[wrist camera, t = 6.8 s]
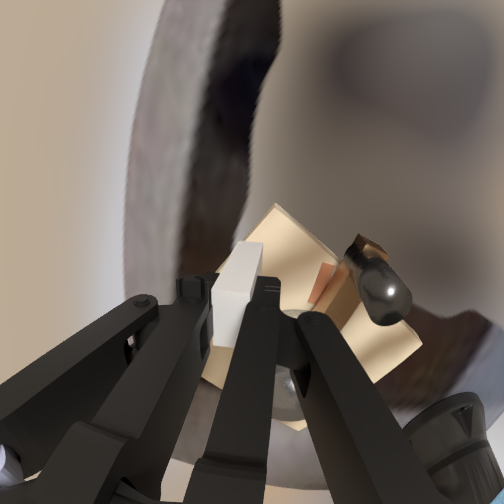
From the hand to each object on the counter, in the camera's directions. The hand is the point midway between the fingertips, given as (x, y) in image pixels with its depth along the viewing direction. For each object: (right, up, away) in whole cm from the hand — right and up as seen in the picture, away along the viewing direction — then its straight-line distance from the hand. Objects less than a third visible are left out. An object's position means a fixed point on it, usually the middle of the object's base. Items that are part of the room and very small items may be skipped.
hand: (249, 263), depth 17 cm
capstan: (+5, -6, +6) cm, 10 cm away
